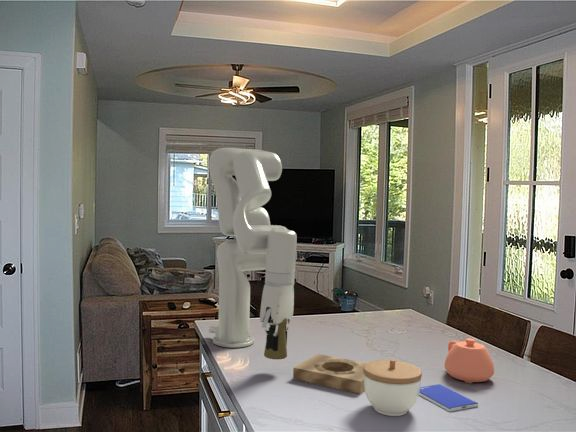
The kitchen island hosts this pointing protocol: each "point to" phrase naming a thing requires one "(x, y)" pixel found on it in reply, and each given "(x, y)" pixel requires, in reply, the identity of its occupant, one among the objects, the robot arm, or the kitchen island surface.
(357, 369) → the holder board
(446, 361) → the sugar bowl
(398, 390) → the lidded bowl
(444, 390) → the hard drive
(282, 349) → the cork
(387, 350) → the kitchen island surface
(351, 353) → the kitchen island surface
